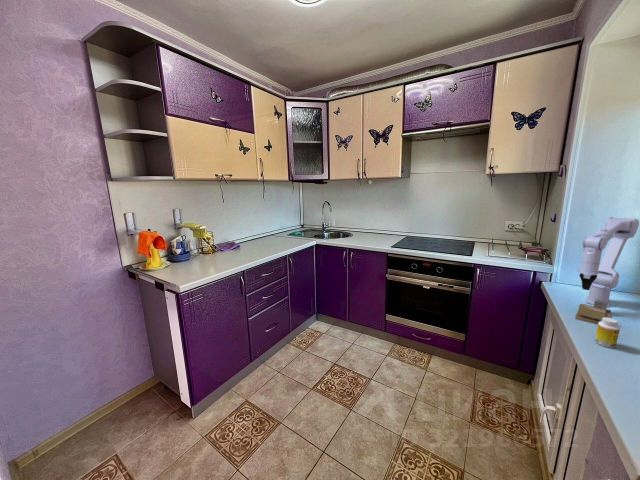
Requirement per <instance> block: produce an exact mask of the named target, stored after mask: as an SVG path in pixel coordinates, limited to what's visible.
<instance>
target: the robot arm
mask: <svg viewBox="0 0 640 480" xmlns="http://www.w3.org/2000/svg"><path fill="white" fill-rule="evenodd" d="M604 223H605V224H604V226H605V227H603V228H600V229H598V230H597V231H595V232H594V233H593V234H592V235H588V236H585V237H584V239H583V240H582V252H583V253H582V254H583V256H582V260H581V261H582V262H581V265H580V268H577V269H576V271H577V272H580V273H579V278H580V280H581V288H582V290H585V291H588V295H587V298H586V300H585V303H586V304H589V305H594V303H595V299H598V300H603V301H607V302H608V304H607V308H609V307H610V303H611V301H610V296H611V291H612V289H614V288H616V287H617V286H618V283H619V278H620V274H619V272H618V271H616V270H615V267H616V265H617V263H618V260H619V258H620V256H621V254H622V252H623V249H624V247H625V244H626V243H627V241H628V239H632V238H634V236H635V235H636V233H637V231H638V229H639V225H640V221H639V219H638V218H625V217H624V218H623V217H613V216H610V217H608V218H607V219H606V220H605V222H604ZM609 241H610V242H609ZM608 242H609V245H608ZM607 245H608V246H607ZM606 247H607V249H606V251H605V253H604V257H603V258H602V253H603V250H604V249H605V248H606ZM601 258H602V261H601Z"/></svg>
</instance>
